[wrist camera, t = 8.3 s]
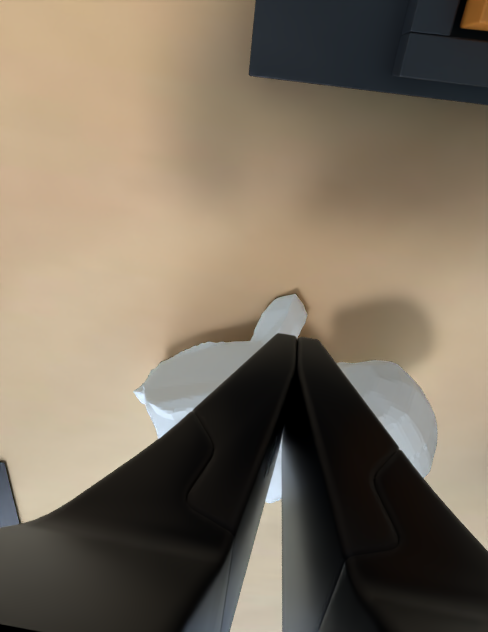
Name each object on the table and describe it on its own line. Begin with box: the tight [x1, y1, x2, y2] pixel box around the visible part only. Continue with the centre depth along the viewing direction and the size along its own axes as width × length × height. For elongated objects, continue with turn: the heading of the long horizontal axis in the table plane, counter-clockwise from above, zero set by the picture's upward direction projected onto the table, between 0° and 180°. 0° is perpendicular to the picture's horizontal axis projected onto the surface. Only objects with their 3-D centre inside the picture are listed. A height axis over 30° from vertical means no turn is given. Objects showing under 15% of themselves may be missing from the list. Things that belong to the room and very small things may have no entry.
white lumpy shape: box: [133, 294, 437, 503], centre depth 22 cm, size 9×8×15 cm
